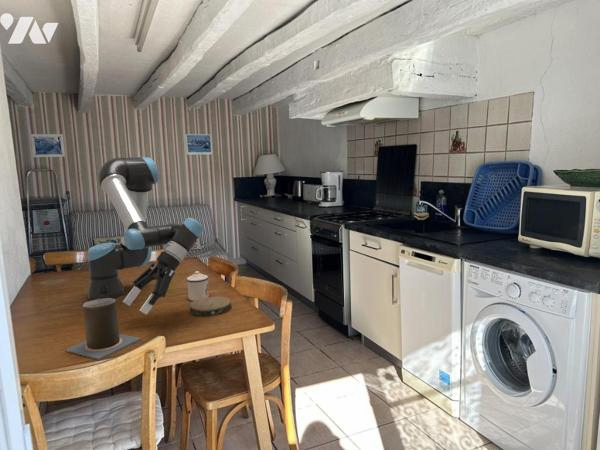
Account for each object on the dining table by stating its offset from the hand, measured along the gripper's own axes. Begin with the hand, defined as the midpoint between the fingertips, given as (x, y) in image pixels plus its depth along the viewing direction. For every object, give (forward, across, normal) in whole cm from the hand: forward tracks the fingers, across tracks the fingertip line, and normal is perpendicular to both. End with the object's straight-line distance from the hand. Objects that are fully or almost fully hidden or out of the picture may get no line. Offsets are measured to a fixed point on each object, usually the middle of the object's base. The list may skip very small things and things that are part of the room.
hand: (134, 308), depth 145 cm
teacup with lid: (-19, -21, +33) cm, 44 cm away
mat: (+14, 0, -1) cm, 15 cm away
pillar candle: (+14, 0, -1) cm, 14 cm away
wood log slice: (-15, -3, +29) cm, 33 cm away
